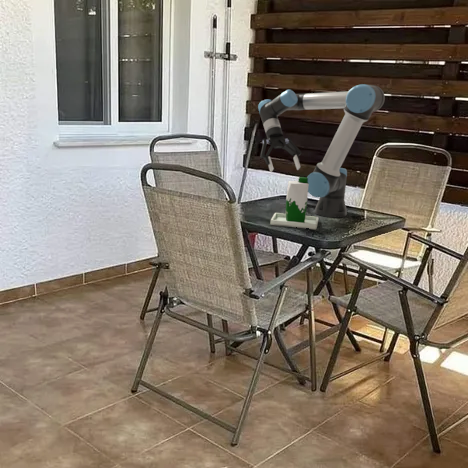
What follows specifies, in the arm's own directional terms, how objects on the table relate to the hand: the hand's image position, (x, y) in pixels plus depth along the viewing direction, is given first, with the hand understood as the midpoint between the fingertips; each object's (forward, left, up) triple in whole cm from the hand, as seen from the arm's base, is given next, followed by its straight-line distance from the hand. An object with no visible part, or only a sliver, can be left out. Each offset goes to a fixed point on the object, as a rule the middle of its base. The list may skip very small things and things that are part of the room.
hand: (285, 169), depth 278 cm
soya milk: (-7, +10, -22) cm, 25 cm away
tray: (-7, +11, -22) cm, 26 cm away
